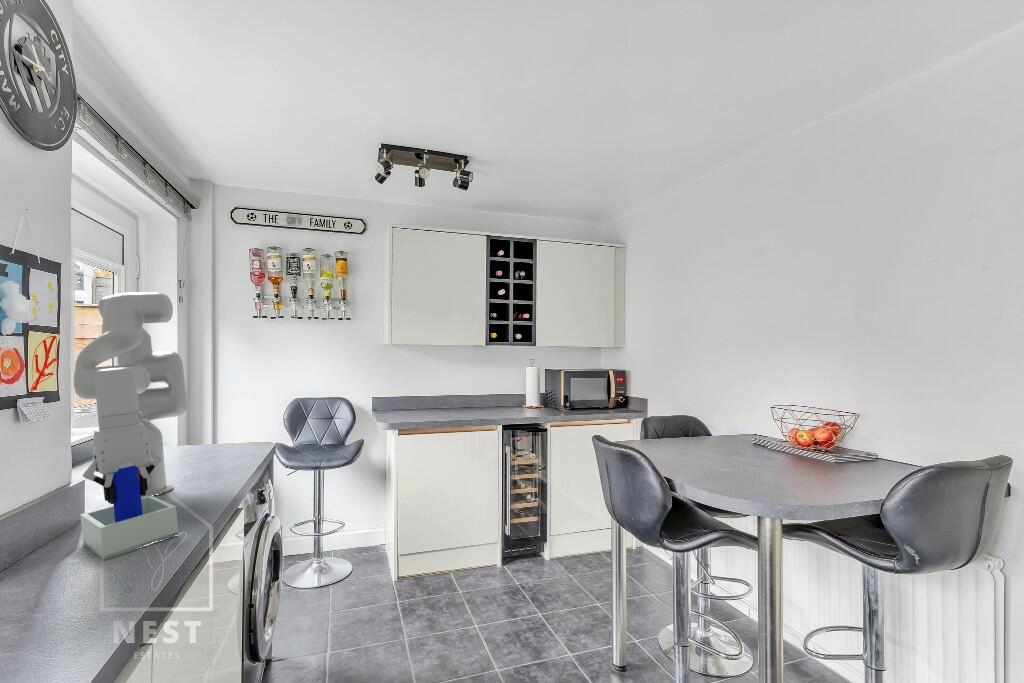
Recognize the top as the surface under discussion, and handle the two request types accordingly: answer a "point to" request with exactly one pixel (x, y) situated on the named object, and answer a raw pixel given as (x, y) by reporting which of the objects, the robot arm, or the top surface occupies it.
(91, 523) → the crate
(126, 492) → the beverage can
